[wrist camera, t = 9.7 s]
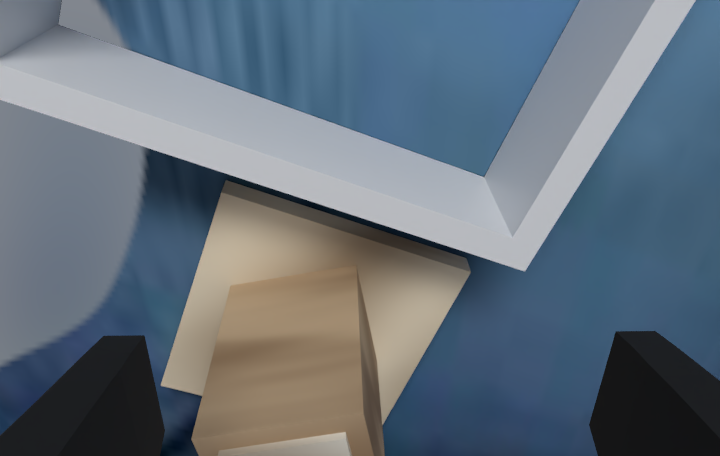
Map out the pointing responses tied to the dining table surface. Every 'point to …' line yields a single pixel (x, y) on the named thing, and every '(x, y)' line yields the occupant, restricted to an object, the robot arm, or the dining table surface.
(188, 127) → the white square frame
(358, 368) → the oak block
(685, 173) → the dining table surface
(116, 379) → the robot arm
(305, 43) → the dining table surface
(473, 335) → the dining table surface
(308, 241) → the birch pad
